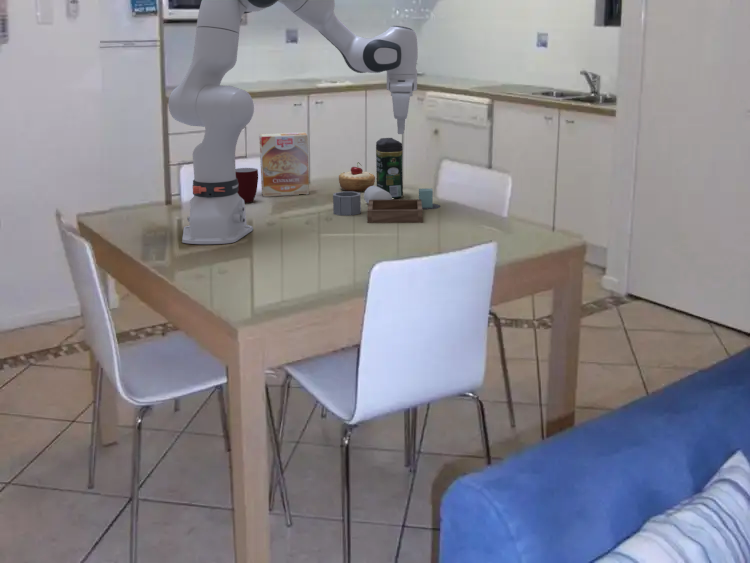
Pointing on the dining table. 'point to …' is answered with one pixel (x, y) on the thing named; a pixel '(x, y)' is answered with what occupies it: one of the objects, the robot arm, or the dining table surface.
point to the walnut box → (395, 211)
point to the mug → (247, 183)
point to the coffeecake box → (284, 164)
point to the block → (426, 198)
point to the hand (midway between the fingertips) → (401, 132)
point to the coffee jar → (389, 166)
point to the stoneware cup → (347, 203)
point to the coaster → (433, 207)
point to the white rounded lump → (376, 194)
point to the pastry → (356, 179)
